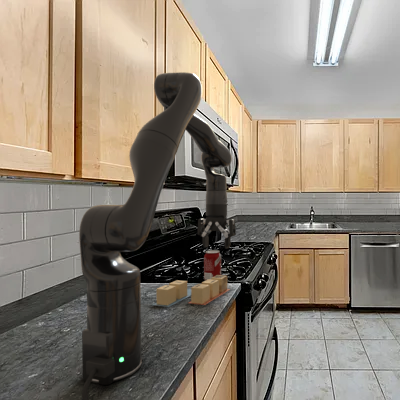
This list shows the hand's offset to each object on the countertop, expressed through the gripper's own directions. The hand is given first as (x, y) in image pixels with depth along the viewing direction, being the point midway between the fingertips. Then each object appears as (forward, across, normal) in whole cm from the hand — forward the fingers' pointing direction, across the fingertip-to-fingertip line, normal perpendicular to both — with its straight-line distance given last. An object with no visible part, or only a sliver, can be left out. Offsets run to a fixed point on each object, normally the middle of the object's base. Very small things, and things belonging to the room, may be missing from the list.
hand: (216, 247), depth 112 cm
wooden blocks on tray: (+16, +1, -5) cm, 17 cm away
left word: (+16, -9, -9) cm, 21 cm away
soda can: (+16, -9, +13) cm, 23 cm away
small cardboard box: (+16, +1, +1) cm, 16 cm away
